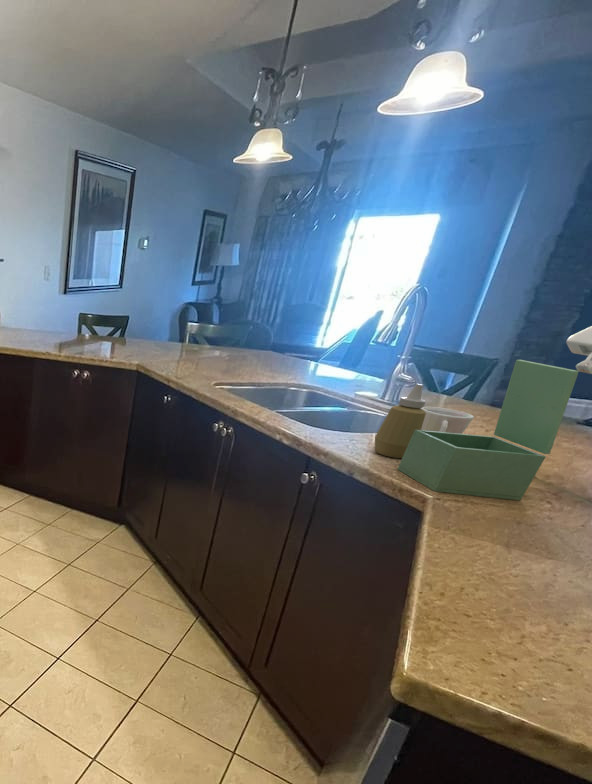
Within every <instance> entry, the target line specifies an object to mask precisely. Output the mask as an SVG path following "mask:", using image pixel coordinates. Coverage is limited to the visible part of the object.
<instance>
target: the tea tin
mask: <svg viewBox="0 0 592 784" xmlns="http://www.w3.org/2000/svg"><path fill="white" fill-rule="evenodd" d="M546 457H547V456H546V455H545V454H542V453H539V452H537V451H534V450H531V449H529V448H526V447H524V446H521V445H518V444H516V443H513V442H511V441H508V440H505V439H503V438H500V437H497V436H490V435H480V434H469V433H462V434H458V433H447V432H436V431H425V430H415V431H414V433H413V435H412V438H411V440H410V442H409V444H408V447H407V449H406V451H405V453H404V455H403V458H401V460H400V462H399V464H398V467H397V469H396V470H398V472H401V473H402V474H405V475H406V476H407V477H409V478H411V479H413V480H414V481H416V482H417V483H420V484H421V485H423V486H424V487H426V488H427V489H429V490H432V491H433V492H438V493H444V494H445V493H447V494H455V495H466V496H472V497H473V496H474V497H485V498H492V499H493V498H494V499H503V500H512V501H521V500H522V499H523V497H524V496H525V494H526V492H527V490H528V488H529V486H530V485H531V483H532V482H533V480H534V478H535V476H536V474H537V473H538V472H539V469H540V468H541V466H542V465H543V462H544V461H545V459H546Z"/></svg>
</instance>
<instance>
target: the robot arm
mask: <svg viewBox="0 0 592 784" xmlns="http://www.w3.org/2000/svg"><path fill="white" fill-rule="evenodd" d="M565 343H566V345H567V347H568V349H569V351H570V352H571V353H572V354H576V355H581V356H587V357H586V359H584V360H582V361H580V362H579V363H577V364H576V365H575V368H576V371H579V372H580V373H585V374H589V375H592V325H591V326H588V327H587V328H585V329H582V330H579V331H578V332H576V333H574V334H572V335H570V336H569V337H568V338H567V339H566V342H565Z"/></svg>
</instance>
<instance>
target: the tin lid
mask: <svg viewBox="0 0 592 784" xmlns="http://www.w3.org/2000/svg"><path fill="white" fill-rule="evenodd" d="M579 372H580V371H578V370H577V369H570V368H566V367H561V366H556V365H550V364H546V363H545V364H544V363H541V362H540V363H539V362H535V361H529V360H524V359H516V360H515V362H514V365H513V369H512V372H511V376H510V380H509V383H508V386H507V389H506V393H505V396H504V399H503V402H502V405H501V409H500V412H499V416H498V418H497V423H496V427H495V429H494V432H493V436H495V437H497V438H500V439H503V440H505V441H508V442H510V443H513V444H516V445H518V446H521V447H524V448H526V449H529V450H532V451H534V452H537V453H540V454H542V455H550V454H551V451H552V449H553V447H554V443H555V440H556V438H557V435H558V432H559V429H560V426H561V423H562V420H563V417H564V415H565V412H566V410H567V406H568V403H569V400H570V398H571V394H572V392H573V389H574V386H575V384H576V381H577V377H578V374H579Z"/></svg>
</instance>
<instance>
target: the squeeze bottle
mask: <svg viewBox="0 0 592 784" xmlns="http://www.w3.org/2000/svg"><path fill="white" fill-rule="evenodd" d="M423 389H424V384H422V383H416V384H415V386H414V387H413V388H412V389H411V391H410V392H409V393H408V395H407V396H401V397H400V398H399V401H398V404H396V405H393V406H391V407H390V409H389V411H388V413H387V415H386V416H385V418H384V419H383V422H382V423H381V424H380V427H379V429H378V430H377V432H376V434H375V435H374V451H375V453H377V454H379V455H382V456H385V457H388V458H396V459H402V458H403V455H404V453H405V451H406V449H407V447H408V444H409V442H410V440H411V438H412V435H413V433H414V431H415V430H421V428H422V425H423V422H424V418H425V415H426V412H425V411H424V410H423V409H421V408H423V407H425V405H426V403H427V401H426V400H425V399H422V395H423Z"/></svg>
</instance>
